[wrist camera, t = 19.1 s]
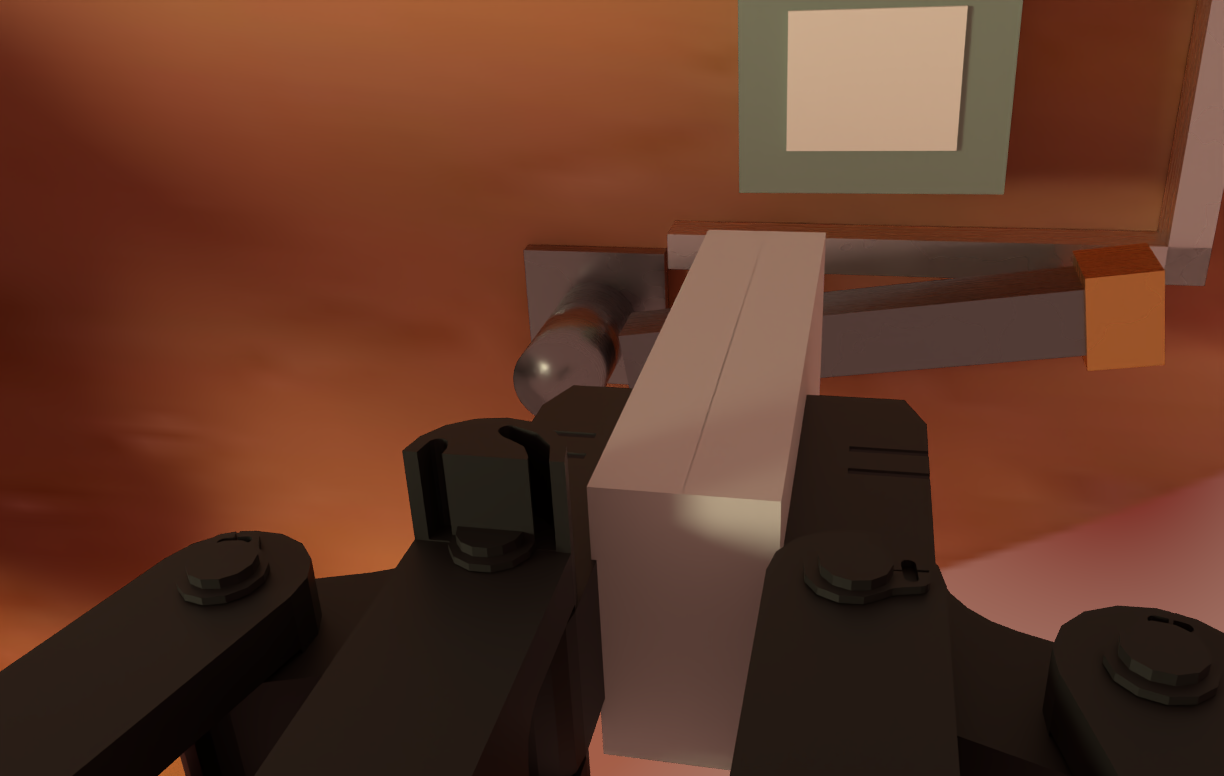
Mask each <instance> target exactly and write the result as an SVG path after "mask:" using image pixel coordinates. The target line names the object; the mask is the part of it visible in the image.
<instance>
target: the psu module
mask: <svg viewBox="0 0 1224 776" xmlns="http://www.w3.org/2000/svg"><path fill="white" fill-rule="evenodd" d="M1022 6H1023V0H738V72H739V193H860V194H1004V188H1005V178H1006V168H1007V158H1008V147H1009V137H1010V127H1011V117H1012V107H1013V97H1014V87H1015V76H1016V66H1017V56H1018V46H1019V36H1020V26H1021V16H1022Z"/></svg>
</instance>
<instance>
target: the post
mask: <svg viewBox="0 0 1224 776" xmlns="http://www.w3.org/2000/svg"><path fill="white" fill-rule="evenodd" d="M524 262H525V274H526V285H527V297H528V309H529V321H530V333H531V343H530V344H529V346H528V347H527V349H526V350H525V351H524V353H523V354H522V355H521V357H520V358H519V360H518V361H517V364H516V366H515V369H514V376H513V381H514V387H515V391H516V393H517V396H518V398H519V399H520V401H521V402H522V404H523V405H524V406H525V407H526V408H527V409H528V410H529V411H530V412H531V413H532V414H534V415H535V416H536V414H537V413H538V411H539V410H540V408H541V406H542V405H543V404H545V403H546V402H548V401H549V400H551V399H552V398H554V397H556V396H557V395H559V394H560V393H562V392H563V391H565V390H567V389H568V388H570V387H571V386H573V385H580V386H598V387H606V385H607V383H611V384H628V380H627V375H626V370H625V366H624V361H623V356H622V351H621V346H620V341H619V337H618V336H619V334H620V332H621V331H622V329H623V327H624V325H625V323H626V322H627V320H628V318H629V316H630V314H631V313H632V312H641V311H650V310H660V309H669V303H668V264H667V249H665V248H629V247H593V246H557V245H528V246H527V247H526V248H525V249H524Z"/></svg>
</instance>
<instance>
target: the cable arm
mask: <svg viewBox="0 0 1224 776" xmlns="http://www.w3.org/2000/svg"><path fill="white" fill-rule="evenodd" d="M670 310H671V308H669V309H660V310H650V311H641V312H632V313H631V314H630V316H629V318H628V320H627V322H626V323H625V325H624V327H623V329H622V331H621V332H620V334H619V336H618V337H619V341H620V346H621V351H622V356H623V361H624V366H625V370H626V375H627V380H628V385H629V388H634V386H635V384H636V382H637V379H638V377H639V375H640V373H641V371H642V369H643V367H644V365H645V363H646V360H647V358H648V356H649V354H650V352H651V350H652V348H653V346H654V344H655V341H656V339H657V337H658V335H659V333H660V331H661V329H662V327H663V325H664V322H665V320H666V318H667V316H668V314H669V312H670ZM1074 356H1082V358H1083V360H1084V363H1085V366H1086V368H1087V371H1096V370H1108V369H1120V368H1133V367H1145V366H1158V365H1165V270H1164V268H1163V267H1162V265H1161V264H1160V262H1159V261H1158V259H1157V258H1156V256H1155V254H1154V253H1153V251H1152V250H1151V248H1150V247H1149V245H1148V244H1147V243H1139V244H1130V245H1121V246H1112V247H1103V248H1093V249H1084V250H1075V251H1073V266H1068V267H1059V268H1049V269H1040V270H1030V271H1021V272H1011V273H1002V274H992V275H983V276H973V277H964V278H954V279H945V280H935V281H926V282H916V283H907V284H897V285H888V286H878V287H869V288H859V289H850V290H840V291H831V292H824V293H823V319H822V344H821V370H820V378H824V377H835V376H847V375H859V374H871V373H883V372H895V371H907V370H919V369H931V368H943V367H955V366H967V365H979V364H991V363H1003V362H1014V361H1026V360H1038V359H1050V358H1062V357H1074Z"/></svg>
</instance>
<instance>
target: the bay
mask: <svg viewBox="0 0 1224 776" xmlns="http://www.w3.org/2000/svg"><path fill="white" fill-rule="evenodd" d="M1223 189H1224V0H1197V6H1196V12H1195V18H1194V24H1193V29H1192V35H1191V41H1190V47H1189V52H1188V58H1187V64H1186V70H1185V76H1184V81H1183V87H1182V93H1181V99H1180V104H1179V110H1178V116H1177V122H1176V128H1175V133H1174V139H1173V145H1172V151H1171V157H1170V162H1169V168H1168V174H1167V180H1166V185H1165V191H1164V197H1163V203H1162V209H1161V214H1160V220H1159V226H1158V231H1113V230H1068V229H1023V228H978V227H933V226H888V225H843V224H798V223H753V222H708V221H675V222H674V224H673V225H672V227H671V229H670V230H669V232H668V234H667V242H668V269H688V270H690V268H691V265H692V263H693V261H694V259H695V257H696V255H697V253H698V251H699V249H700V246H701V244H702V242H703V240H704V238H705V236H706V234H707V232H708V230H739V231H781V232H823V233H826V242H825V268H824V274H845V275H877V276H908V277H939V278H964V277H973V276H983V275H992V274H1002V273H1011V272H1021V271H1030V270H1040V269H1049V268H1059V267H1068V266H1073V251H1075V250H1084V249H1093V248H1103V247H1112V246H1121V245H1130V244H1139V243H1147V244H1148V245H1149V247H1150V248H1151V250H1152V251H1153V253H1154V254H1155V256H1156V258H1157V259H1158V261H1159V262H1160V264H1161V265H1162V267H1163V268H1164V270H1165V285H1190V286H1205V281H1206V276H1207V271H1208V266H1209V261H1210V255H1211V250H1212V245H1213V240H1214V235H1215V230H1216V225H1217V220H1218V215H1219V210H1220V205H1221V199H1222V194H1223Z"/></svg>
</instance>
